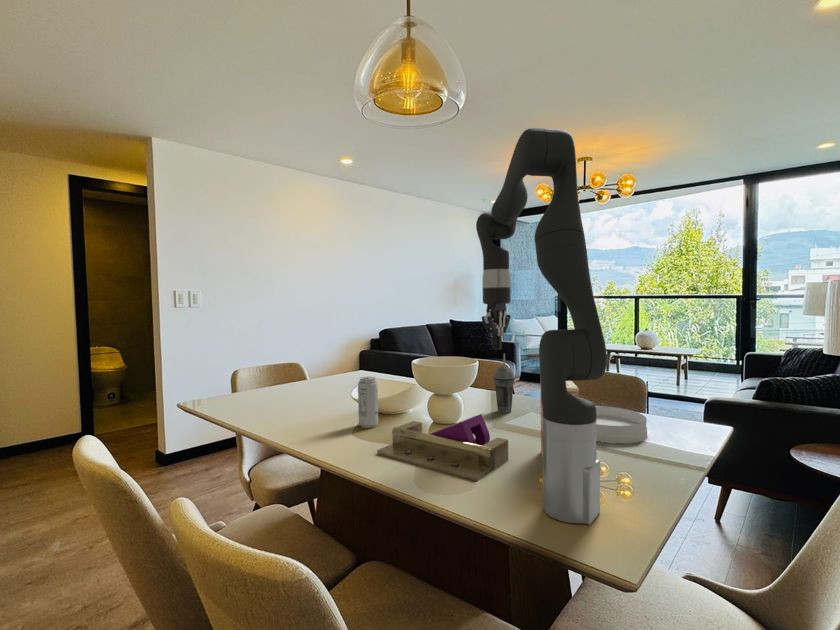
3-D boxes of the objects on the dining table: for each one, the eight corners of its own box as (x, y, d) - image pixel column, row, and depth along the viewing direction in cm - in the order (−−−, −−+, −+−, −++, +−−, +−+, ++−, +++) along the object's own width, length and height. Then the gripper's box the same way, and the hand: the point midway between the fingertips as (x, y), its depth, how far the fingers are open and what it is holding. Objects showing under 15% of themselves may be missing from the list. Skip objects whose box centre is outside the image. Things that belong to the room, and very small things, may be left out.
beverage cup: (492, 413, 150) (491, 354, 149) (495, 408, 156) (494, 352, 156) (514, 414, 147) (513, 355, 147) (516, 409, 154) (515, 352, 154)
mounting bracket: (421, 473, 114) (475, 456, 104) (410, 442, 116) (461, 422, 106) (442, 462, 122) (494, 445, 111) (431, 433, 124) (481, 413, 113)
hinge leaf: (508, 460, 106) (508, 438, 106) (476, 481, 94) (476, 457, 94) (413, 438, 124) (413, 420, 124) (377, 454, 112) (376, 433, 112)
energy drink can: (380, 427, 136) (379, 378, 135) (361, 429, 134) (360, 380, 133) (375, 422, 141) (374, 375, 141) (356, 424, 139) (355, 377, 139)
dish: (564, 440, 121) (564, 422, 121) (564, 419, 142) (564, 404, 142) (655, 447, 114) (655, 428, 114) (640, 424, 135) (640, 408, 135)
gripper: (497, 285, 113) (498, 352, 114) (519, 286, 124) (519, 347, 125) (472, 286, 118) (472, 351, 119) (495, 287, 128) (496, 346, 129)
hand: (497, 349), depth 122 cm, fingers closed
